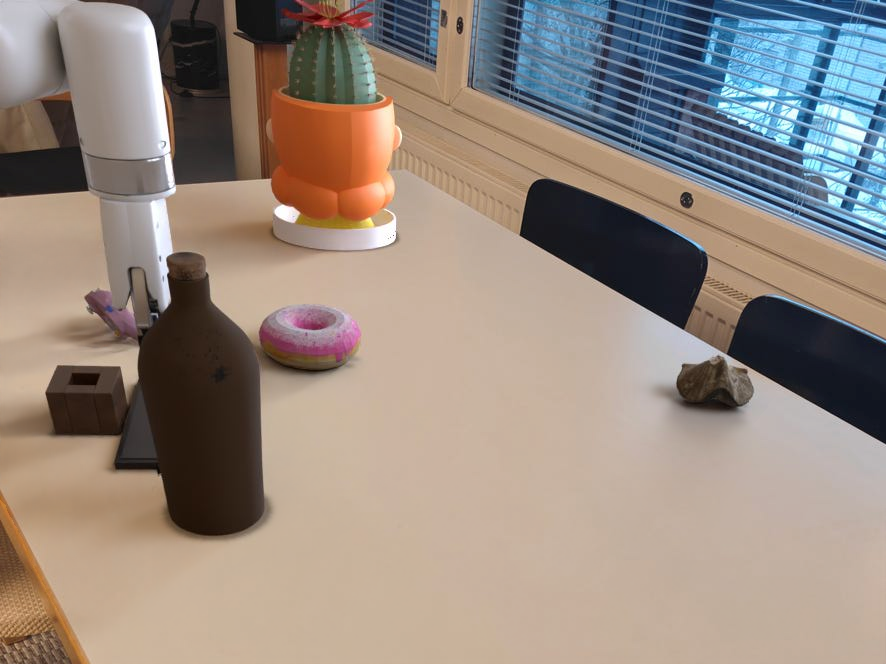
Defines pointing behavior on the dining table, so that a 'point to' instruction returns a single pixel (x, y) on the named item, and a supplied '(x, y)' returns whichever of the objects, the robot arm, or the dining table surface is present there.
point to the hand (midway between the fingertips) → (161, 366)
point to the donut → (310, 336)
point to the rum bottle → (203, 407)
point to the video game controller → (111, 314)
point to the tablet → (136, 438)
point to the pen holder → (87, 399)
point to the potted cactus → (332, 138)
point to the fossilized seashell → (715, 382)
